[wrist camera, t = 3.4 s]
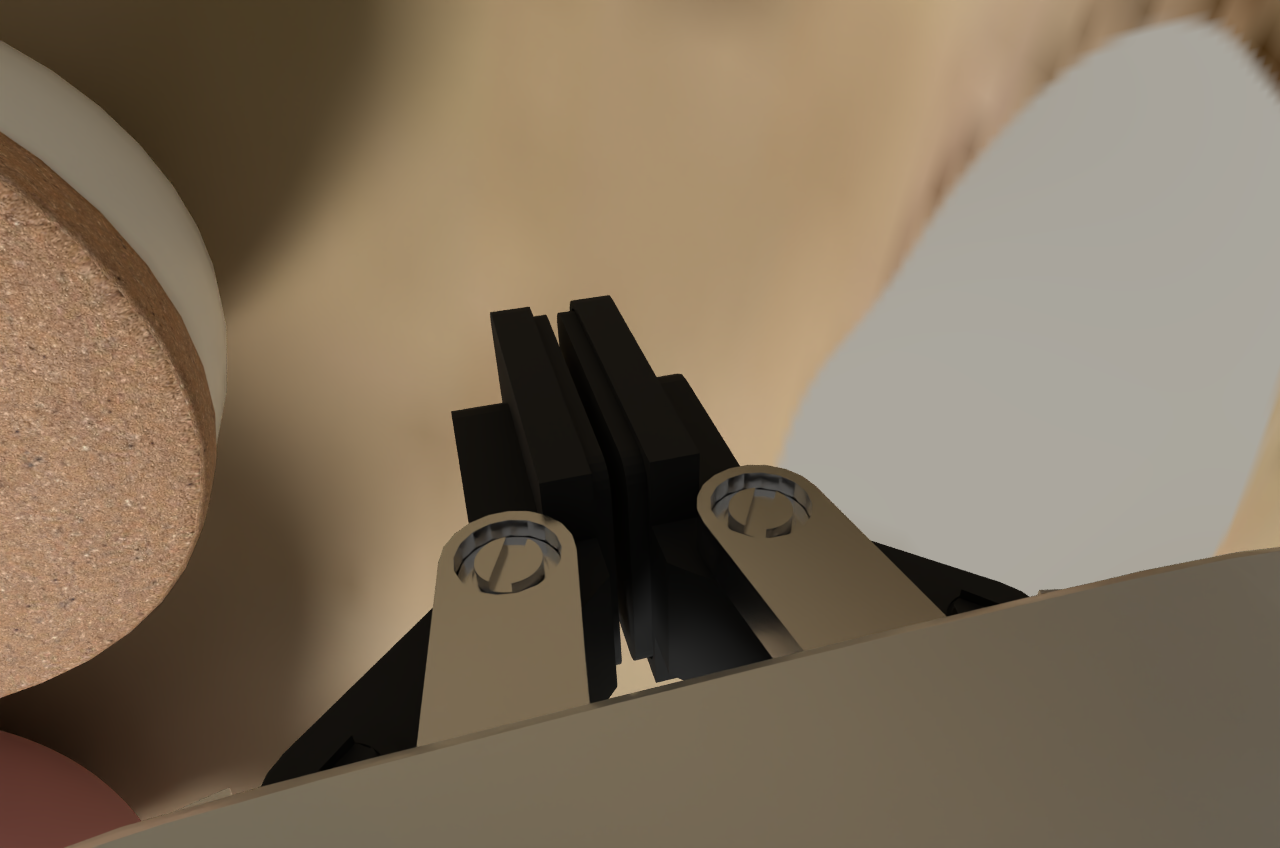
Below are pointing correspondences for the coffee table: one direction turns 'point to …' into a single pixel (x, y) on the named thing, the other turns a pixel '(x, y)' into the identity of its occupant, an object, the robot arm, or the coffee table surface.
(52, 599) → the lidded jar
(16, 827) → the balloon
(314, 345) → the coffee table surface
